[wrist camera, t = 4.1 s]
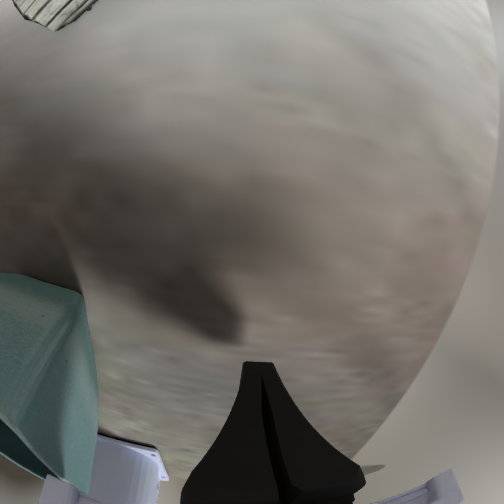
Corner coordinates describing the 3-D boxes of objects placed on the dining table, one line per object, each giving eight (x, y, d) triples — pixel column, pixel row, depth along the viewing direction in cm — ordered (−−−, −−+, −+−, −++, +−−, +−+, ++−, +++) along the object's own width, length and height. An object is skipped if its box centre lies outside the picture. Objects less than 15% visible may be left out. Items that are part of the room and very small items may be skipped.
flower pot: (126, 385, 15) (91, 503, 7) (25, 348, 14) (-28, 433, 6) (116, 268, 12) (10, 424, 3) (-2, 238, 11) (-103, 316, 2)
